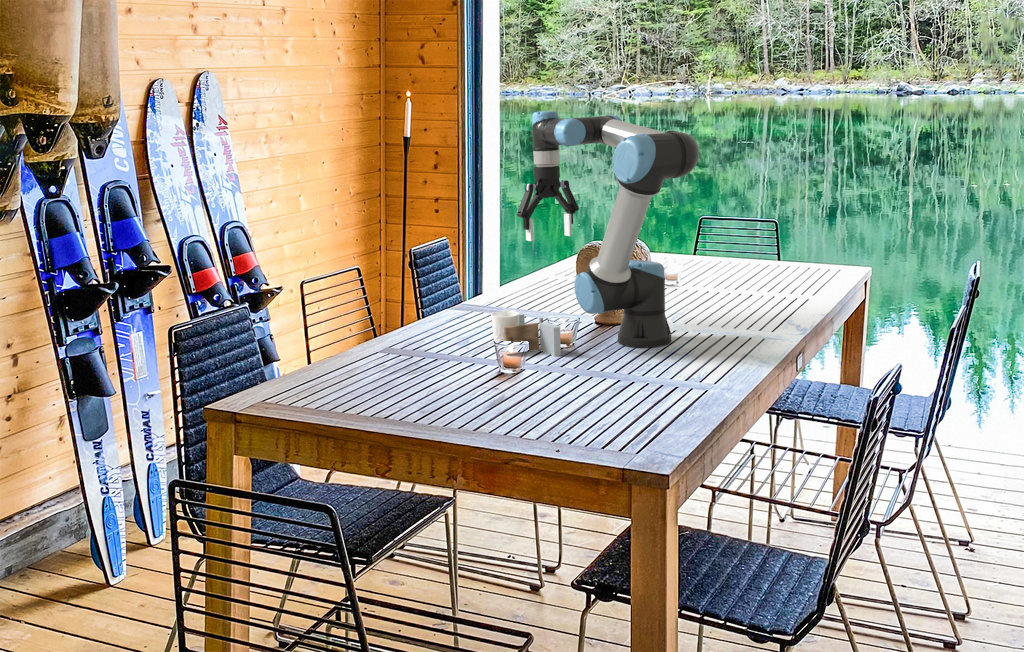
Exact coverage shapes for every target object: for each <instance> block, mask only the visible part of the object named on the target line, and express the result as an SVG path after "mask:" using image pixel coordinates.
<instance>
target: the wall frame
mask: <svg viewBox="0 0 1024 652" xmlns="http://www.w3.org/2000/svg"><path fill="white" fill-rule="evenodd" d="M501 311H515V312H518V313H519V325H524V324H526V322H525V313H521V312H519V311H516V310H512V309H510V308H503V309H501ZM538 321H539V322H538V325H539V350H540V349H541V350H540V352H542V351H543V353H545V352H546V353H545V354H547V353H548V354H547V355H550V354H551V355H550V356H552V355H553V356H552V357H559V356H558V355H560V356H561V355H562V353H561V352H562V351H561V350H562V349H561V348H562V347H561V343H562V342H561V326H558V325H556V324H553V323H550V322H547V321H544V318H543V317H540V318H538Z"/></svg>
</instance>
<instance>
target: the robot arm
mask: <svg viewBox="0 0 1024 652" xmlns="http://www.w3.org/2000/svg"><path fill="white" fill-rule="evenodd" d="M531 120H532V124H531V131H532V149H533V151H532V153H533V165H534V167H533V178H534V183H533V184H532V183H526V184H525V185H524V187H525V188H524V193H523V196H522V199H521V202H520V204H519V207H518V209H517V212H516V216H517V217H519V218H521V219H522V222H523V223H522V225H523V226H522V227H523V230H525V241H527V242H534V227H533V226H534V224H533V223H534V222H533V218H531V217H532V215H533V213H534V212H535V210H536V209H537V207H538V205H539V204H540V203H541V201H542V200H543V199H548V198H554V199H555V200H556V201H557V202H558V204H559V205H560V206H561V207H562V209H563V210H564V212H565V213H563V224H564V225H563V229H564V230H563V231H564V237H565V236H567V237H572V235H573V231H572V229H573V228H572V225H573V224H574V214H576V212H577V211H579V209H580V207H579V206H578V203H577V201H576V199H575V196H574V195H573V192H572V191H571V188H570V181H569V180H565V179H562V180H560V178H561V170H560V169H561V168H560V165H559V164H560V161H561V158H560V146H564V147H575V146H579V145H590V144H603V145H606V146H608V147H613V148H615V150H614V152H613V155H612V156H613V157H612V163H613V166H612V170H613V173H614V175H615V177H616V182H617V184H618V185H619V189H618V191H617V195H616V198H615V200H614V204H613V208H612V210H611V214H610V216H609V220H608V223H607V226H606V230H605V233H604V236H603V239H602V242H601V245H600V248H599V252H598V255H597V256H596V257H593V258H592V259H591V260H590V262H589V265H588V268H587V270H586V271H582V272H581V273H578V274H577V275H576V276H575V279H574V284H573V285H574V292H575V296H576V301H577V302H578V305H579V306H580V308H581V309H582V310H583V311H584V312H585V313H587V314H589V315H594V314H603V313H604V314H605V313H608V312H615V311H620V310H623V315H622V320H621V322H620V325H619V326H620V327H619V330H618V332H617V343H618V344H619V345H621V346H625V347H630V348H642V349H643V348H645V349H646V348H656V347H663V346H667V345H669V344H671V343H672V331H671V329H670V325H669V323H668V319H667V317H666V293H665V292H666V288H665V287H666V284H665V283H666V275H665V266H664V265H663V264H662V263H660V262H657V261H651V260H642V259H632V257H633V253H634V251H635V250H634V249H635V247H636V245H637V241H638V239H639V235H640V233H641V230H642V226H643V224H644V221H645V218H646V215H647V211H648V209H649V206H650V203H651V200H652V197H653V196H657V195H658V194H659V193H661V189H662V186H663V184H664V181H665V180H670V179H671V180H673V179H677V178H682V177H685V176H687V175H688V174H689V173H691V172H692V171H693V170H694V168H695V167H696V166H697V164H698V161H699V159H700V149H699V145H698V142H697V141H696V139H695V138H694V137H693V136H692V135H690V134H688V133H686V132H682V131H677V130H673V129H671V130H670V129H669V130H667V131H662V130H657V129H653V128H650V127H647V126H642V125H638V124H635V123H630V122H628V121H627V122H626V121H623V119H621V117H620V116H617V115H611V114H610V115H609V114H605V115H600V116H586V117H569V118H568V117H567V118H565V117H564V118H562V117H561V118H559V113H558V112H557V111H556V110H538V111H535V112H533V113H532V119H531ZM560 189H561V190H562V192H563V194H562V192H561V191H560ZM534 191H535V193H534ZM533 193H534V194H533ZM563 195H564V196H563Z"/></svg>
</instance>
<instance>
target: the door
mask: <svg viewBox="0 0 1024 652" xmlns="http://www.w3.org/2000/svg"><path fill="white" fill-rule="evenodd" d="M504 338H505V341H511V342H521V341H528V342H529V351H528V352H533V351H539V350H540V327H539V322H531V323H525V324H524V325H517V326H510V327H504Z"/></svg>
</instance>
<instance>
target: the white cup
mask: <svg viewBox="0 0 1024 652" xmlns="http://www.w3.org/2000/svg"><path fill="white" fill-rule="evenodd" d="M515 311H516V310H513V311H502V310H500V311H495V312H492V313H491V314H490V315H491V325H492V326H491V327H492V335H493V341H505V338H504V327H510V326H517V325H519V313H520V312H519V311H516V312H515ZM518 312H519V313H518Z"/></svg>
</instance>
